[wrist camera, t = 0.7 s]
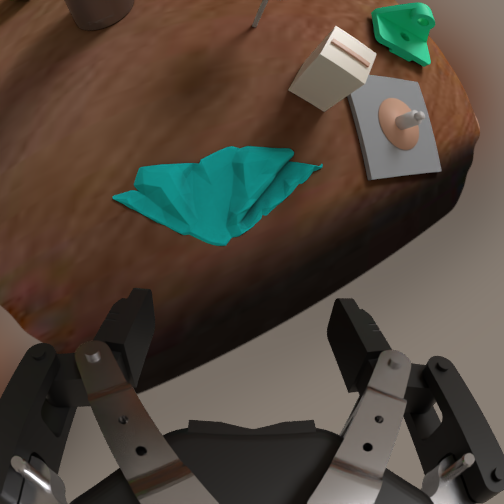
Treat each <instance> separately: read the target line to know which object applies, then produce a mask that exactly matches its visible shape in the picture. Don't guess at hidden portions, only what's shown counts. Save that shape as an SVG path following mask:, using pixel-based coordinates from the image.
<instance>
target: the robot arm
mask: <svg viewBox="0 0 504 504" xmlns="http://www.w3.org/2000/svg"><path fill="white" fill-rule="evenodd" d="M64 1H65V3H66V5H67V7H68V9H69V11H70V13H71V15H72V17H73V19H74V21H75V22H76V24H77V26H78V27H79V28H81V29H83V30H98V29H102V28H105V27H108V26H110V25H112V24H114V23H116V22H117V21H119V20H120V19H122V18H123V17H124V16H125V15H127V13H128V12H129V11H130V10H131V8H132V6H133V3H134V0H64ZM154 329H155V316H154V308H153V299H152V292H151V290H150V289H140V288H133V290H132V291H131V293H130V295H129V297H128V298H127V299H125V298H122V299H120V300H119V301H118V302H116V303H115V304H114V305H113V306H112V308H111V310H110V311H109V313H108V315H107V317H106V320H104V322H103V324H102V325H101V327H100V329H99V331H98V332H97V334H96V336H95V338H94V340H93V341H88V342H85V343H83V344H82V345H80V346H79V347H78V348H77V350H76V352H75V353H69V354H57V353H56V351H55V349H54V347H53V346H51V345H50V344H47V343H40V344H36V345H34V346H32V347H31V348H29V349H28V350H27V352H26V354H25V355H24V357H23V359H22V360H21V362H20V363H19V365H18V367H17V369H16V370H15V372H14V374H13V376H12V378H11V379H10V381H9V383H8V385H7V387H6V389H5V391H4V393H3V394H2V397H1V398H0V504H68V503H67V501H66V497H65V485H64V482H63V481H62V479H61V478H60V477H59V476H58V471H59V467H60V463H61V459H62V455H63V451H64V448H65V444H66V441H67V437H68V434H69V431H70V428H71V424H72V421H73V418H74V415H75V412H76V409H77V407H78V406H79V407H81V406H91V408H92V410H93V413H94V415H95V418H96V420H97V422H98V425H99V427H100V429H101V431H102V433H103V435H104V438H105V440H106V442H107V444H108V446H109V448H110V450H111V452H112V454H113V456H114V458H115V459H116V461H117V463H118V465H119V467H120V468H119V469H117V470H116V471H115V472H113V473H112V474H110V475H109V476H108V477H106V478H105V479H104V480H102V481H101V482H99V483H98V484H97V485H95V486H94V487H92V488H91V489H89V490H88V491H86V492H85V493H83V494H82V495H80V496H79V497H77V498H76V499H74V500H73V501H72V502H71V503H70V504H483V503H484V502H486V501H488V500H489V499H491V498H492V497H494V496H495V495H497V494H498V493H500V492H501V491H503V490H504V454H503V452H502V450H501V448H500V446H499V444H498V442H497V440H496V438H495V436H494V434H493V432H492V430H491V428H490V426H489V424H488V422H487V420H486V419H485V417H484V415H483V413H482V411H481V410H480V408H479V406H478V404H477V402H476V401H475V399H474V397H473V396H472V394H471V392H470V391H469V389H468V387H467V386H466V384H465V382H464V381H463V379H462V377H461V376H460V374H459V373H458V371H457V369H456V368H455V366H454V365H453V364H452V363H451V361H449V360H448V359H446V358H444V357H441V356H433V357H431V358H430V359H429V361H428V362H427V364H426V365H420V364H412V363H411V362H410V360H409V358H408V357H407V356H406V355H405V354H403V353H402V352H399V351H396V350H392V349H391V348H390V346H389V344H388V342H387V341H386V339H385V337H384V336H383V334H382V333H381V331H379V328H378V326H377V325H376V323H375V321H374V320H373V318H372V316H370V315H369V314H368V313H367V312H365V311H364V310H363V309H359V307H358V305H357V304H356V302H355V301H354V299H343V298H342V299H340V298H338V299H336V300H335V302H334V306H333V309H332V313H331V316H330V321H329V324H328V328H327V337H328V341H329V343H330V345H331V348H332V351H333V353H334V356H335V358H336V361H337V364H338V366H339V369H340V371H341V374H342V376H343V379H344V382H345V385H346V387H347V390H348V392H349V393H350V392H359V395H360V396H359V398H358V399H357V401H356V403H355V405H354V408H353V410H352V412H351V414H350V416H349V418H348V420H347V422H346V424H345V426H344V428H343V429H342V431H341V433H340V435H338V434H335V433H333V432H330V431H327V430H324V429H319V428H316V427H315V423H314V420H306V421H293V422H282V423H278V424H274V425H270V426H266V427H262V428H258V429H249V428H243V427H239V426H235V425H231V424H227V423H222V422H212V421H198V420H189V425H188V428H185V429H179V430H175V431H172V432H169V433H167V434H165V435H162V434H161V432H160V431H159V429H158V428H157V426H156V425H155V423H154V422H153V420H152V419H151V417H150V416H149V414H148V412H147V411H146V409H145V408H144V406H143V404H142V403H141V401H140V399H139V398H138V396H137V394H136V392H135V391H134V389H133V387H136V386H137V383H138V379H139V376H140V373H141V370H142V366H143V363H144V360H145V357H146V354H147V351H148V348H149V345H150V342H151V339H152V336H153V333H154ZM436 402H437V404H438V406H439V408H440V410H441V412H442V416H443V419H442V423H441V422H440V420H439V418H438V415H437V413H436V411H435V409H434V407H433V405H434V404H435V403H436ZM403 417H404V419H405V422H406V424H407V427H408V429H409V432H410V434H411V437H412V440H413V443H414V445H415V448H416V451H417V454H418V456H419V459H420V462H421V465H422V468H423V471H424V474H425V477H424V479H423V483H422V488H421V490H420V489H418V488H417V487H415V486H413V485H412V484H410V483H408V482H407V481H405V480H404V479H402V478H401V477H399V476H398V475H396V474H394V473H393V472H391V471H390V470H388V469H387V468H386V466H387V463H388V461H389V458H390V455H391V452H392V450H393V447H394V444H395V441H396V438H397V435H398V432H399V429H400V425H401V422H402V419H403Z"/></svg>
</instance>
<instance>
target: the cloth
mask: <svg viewBox="0 0 504 504" xmlns="http://www.w3.org/2000/svg"><path fill="white" fill-rule="evenodd" d="M293 156H294V151H292V150H291V149H290V148H268V147H254V146H246V147H243V148H241V149H240V148H236V147H233V146H231V147H226V148H224V149H222V150H219V151H217V152H215V153H213V154H211V155H209V156H207V157H205V158H203V159H201V160H200V163H199V164H198V163H183V164H162V165H153V166H146V167H141V168H139V170H138V173H137V176H136V179H135V182H134V186H135V188H136V189H137V190H138V191H135V190H130V191H128V192H125V193H121V194H118V195H115V196H113V199H114V200H116V201H118V202H120V203H122V204H124V205H125V206H127V207H129V208H130V209H133V210H135V211H137V212H139V213H141V214H142V215H144V216H146V217H148V218H150V219H152V220H153V221H155V222H157V223H160V224H162V225H165V226H167V227H169V228H170V229H172V230H174V231H176V232H178V233H180V234H183V235H189V234H190V235H192V236H193V237H195V238H197V239H200V240H202V241H204V242H206V243H209V244H212V245H216V246H226V245H227V243H228V242H229V241H230V239H231V238H233V237H238V236H240V235H242V234H243V233H245V232H246V231H248V230H249V229H250V228H252V227H253V226H254V225H255V224H256V223H257V222H258V221H259V220H260V219H261V217H262V215H265V216H266V215H267V214H269V213H270V212H271V211H272V210H273V209H274V208H275V207H276V206H277V205H279V204H280V203H281V202H282V201H283V200H284V199H285V198H287V197H288V196H289V195H290V194H291V193H292V192H293V190H294V189H295V188H296V187H297V185H298V184H303V183H304V182H305V181H306V180H307V179H308V178H309V177H310V175H311V174H312V172H313V171H317V170H319V169H321V168H322V166H323V164H321V165H320V166H316V165H310V164H305V163H298V162H289V160H290V159H291V158H292V157H293Z"/></svg>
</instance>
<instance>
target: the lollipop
mask: <svg viewBox="0 0 504 504" xmlns="http://www.w3.org/2000/svg"><path fill="white" fill-rule="evenodd" d="M267 2H268V0H263V1H262V3H261V5H260V8H259V10H258V12H257V15H256V17H255V19H254V22H253V24H252V26H253V27H256V26H257V24H258V22H259V20H260V18H261V15H262V13H263V11H264V9H265V6H266V4H267Z"/></svg>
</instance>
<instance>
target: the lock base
mask: <svg viewBox="0 0 504 504" xmlns="http://www.w3.org/2000/svg"><path fill="white" fill-rule="evenodd" d="M347 97H348V101H349V104H350V108H351V111H352V115H353V118H354V122H355V126H356V130H357V134H358V138H359V142H360V146H361V150H362V155H363V159H364V164H365V168H366V173H367V178H368V180H374V179H381V178H389V177H397V176H405V175H413V174H422V173H431V172H440V171H441V166H440V161H439V156H438V152H437V147H436V143H435V139H434V135H433V131H432V127H431V123H430V119H429V116H428V112H427V109H426V106H425V103H424V99H423V96H422V93H421V90H420V87H419V84H418V82H413V81H408V80H402V79H396V78H389V77H382V76H374V75H368V78H367V80H366V83H365V84H364V85H363V86H361V87H360V88H358V89H357V90H355V91H354V92H352V93H351V94H349V95H348V96H347Z"/></svg>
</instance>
